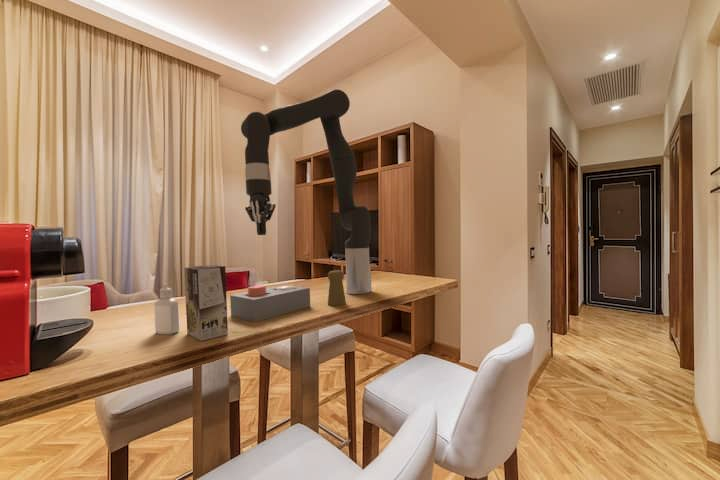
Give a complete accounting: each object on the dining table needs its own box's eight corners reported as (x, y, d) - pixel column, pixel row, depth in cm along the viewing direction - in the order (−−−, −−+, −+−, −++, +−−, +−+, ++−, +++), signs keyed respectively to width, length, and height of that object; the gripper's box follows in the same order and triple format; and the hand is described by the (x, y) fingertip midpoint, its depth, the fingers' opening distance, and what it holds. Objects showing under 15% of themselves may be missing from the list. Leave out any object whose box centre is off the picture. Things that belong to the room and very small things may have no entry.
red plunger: (260, 305, 92) (259, 285, 92) (270, 307, 89) (269, 286, 89) (245, 308, 88) (244, 287, 88) (255, 310, 85) (254, 289, 85)
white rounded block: (286, 303, 100) (286, 285, 100) (297, 305, 97) (296, 286, 97) (274, 306, 96) (273, 287, 96) (284, 308, 93) (283, 289, 93)
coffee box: (229, 334, 72) (226, 266, 71) (200, 342, 67) (197, 268, 67) (213, 327, 78) (211, 264, 78) (186, 333, 73) (183, 266, 73)
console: (286, 302, 104) (285, 284, 104) (310, 306, 97) (309, 287, 97) (231, 315, 89) (230, 295, 89) (254, 322, 81) (253, 299, 81)
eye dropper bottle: (159, 337, 71) (157, 286, 71) (154, 332, 75) (152, 283, 75) (180, 332, 74) (178, 283, 74) (174, 328, 78) (172, 281, 78)
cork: (347, 301, 102) (346, 269, 102) (344, 306, 96) (343, 271, 96) (329, 302, 103) (328, 269, 103) (325, 306, 97) (324, 271, 97)
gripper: (281, 178, 94) (284, 233, 95) (256, 183, 102) (259, 235, 103) (260, 175, 88) (264, 234, 89) (235, 181, 96) (238, 236, 97)
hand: (261, 234), depth 96 cm, fingers closed
